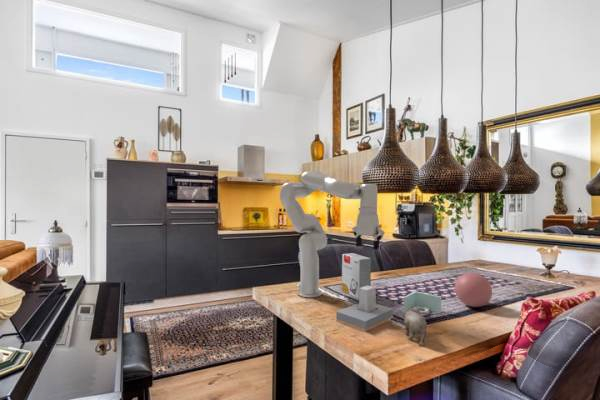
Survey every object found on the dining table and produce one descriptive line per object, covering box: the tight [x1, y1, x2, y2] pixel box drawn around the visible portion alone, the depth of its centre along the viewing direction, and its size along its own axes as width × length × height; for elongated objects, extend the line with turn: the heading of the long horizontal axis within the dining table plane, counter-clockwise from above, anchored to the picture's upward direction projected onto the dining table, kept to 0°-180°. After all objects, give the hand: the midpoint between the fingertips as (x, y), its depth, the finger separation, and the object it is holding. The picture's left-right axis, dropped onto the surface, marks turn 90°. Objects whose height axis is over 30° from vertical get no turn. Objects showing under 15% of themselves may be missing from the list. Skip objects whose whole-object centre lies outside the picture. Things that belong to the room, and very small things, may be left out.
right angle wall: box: [403, 290, 442, 315], centre depth 146 cm, size 12×12×8 cm
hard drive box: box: [341, 252, 372, 299], centre depth 172 cm, size 16×8×20 cm, turn 27°
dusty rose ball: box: [454, 272, 493, 308], centre depth 156 cm, size 15×20×15 cm
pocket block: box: [335, 302, 394, 332], centre depth 136 cm, size 14×20×4 cm
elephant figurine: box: [403, 307, 428, 347], centre depth 120 cm, size 8×14×15 cm
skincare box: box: [358, 285, 377, 313], centre depth 138 cm, size 6×4×12 cm
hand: (367, 247), depth 152 cm, fingers open, 9 cm apart
